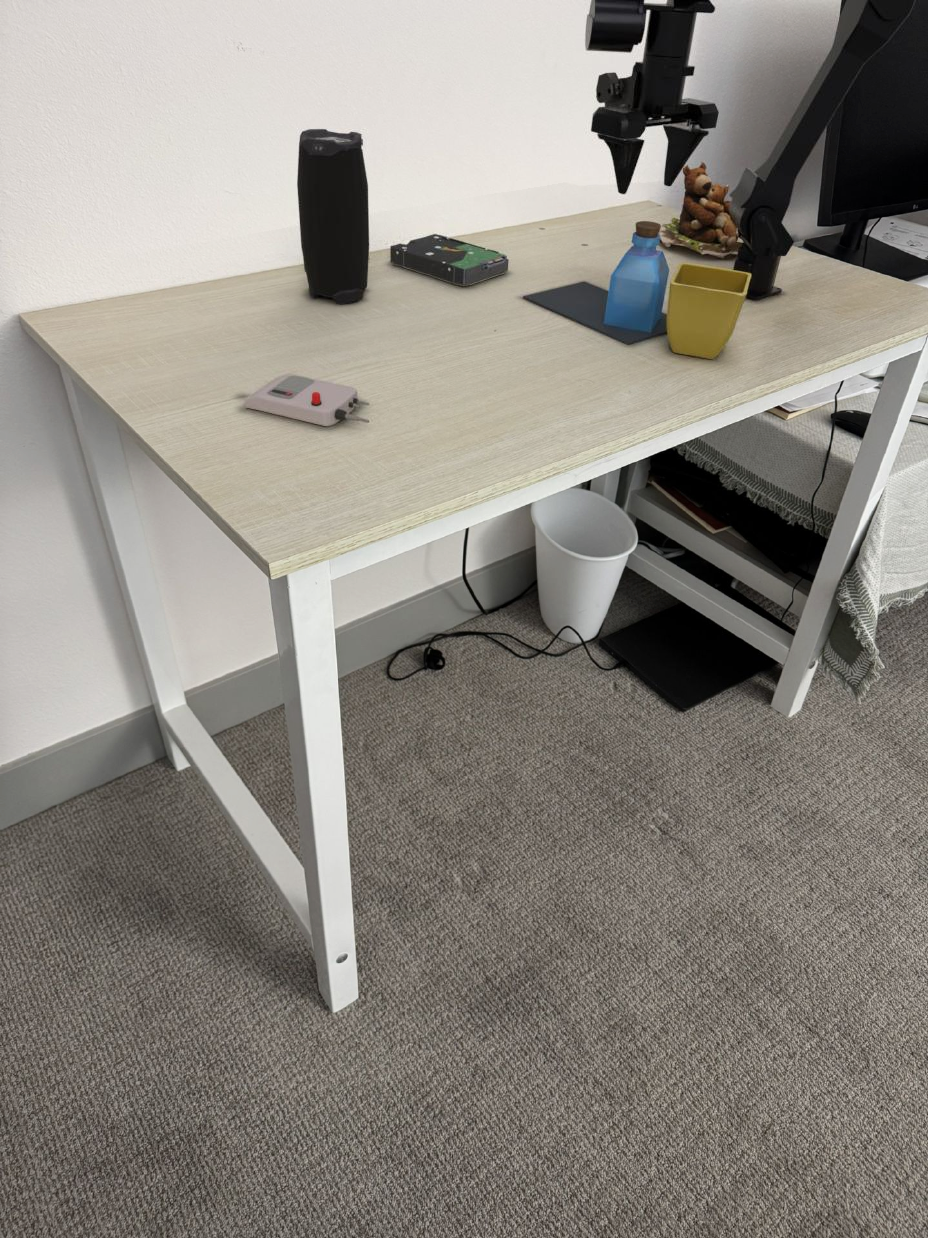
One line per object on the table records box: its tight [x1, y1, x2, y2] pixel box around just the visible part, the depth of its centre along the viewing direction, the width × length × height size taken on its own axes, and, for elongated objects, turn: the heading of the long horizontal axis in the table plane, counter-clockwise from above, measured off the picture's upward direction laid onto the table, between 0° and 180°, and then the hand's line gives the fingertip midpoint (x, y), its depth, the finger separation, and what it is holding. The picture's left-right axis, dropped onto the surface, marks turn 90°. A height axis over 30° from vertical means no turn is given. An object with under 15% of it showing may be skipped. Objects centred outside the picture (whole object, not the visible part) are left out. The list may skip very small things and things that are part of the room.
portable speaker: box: [296, 128, 370, 305], centre depth 114 cm, size 9×9×20 cm
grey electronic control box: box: [244, 373, 370, 427], centre depth 92 cm, size 7×16×3 cm, turn 67°
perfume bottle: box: [604, 220, 670, 333], centre depth 112 cm, size 6×6×12 cm
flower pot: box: [666, 262, 751, 360], centre depth 107 cm, size 9×9×9 cm
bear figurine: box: [658, 161, 743, 260], centre depth 141 cm, size 14×15×12 cm
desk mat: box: [522, 281, 667, 346], centre depth 119 cm, size 12×20×1 cm, turn 39°
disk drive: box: [389, 233, 510, 287], centre depth 130 cm, size 10×3×15 cm
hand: (645, 189), depth 120 cm, fingers open, 9 cm apart
